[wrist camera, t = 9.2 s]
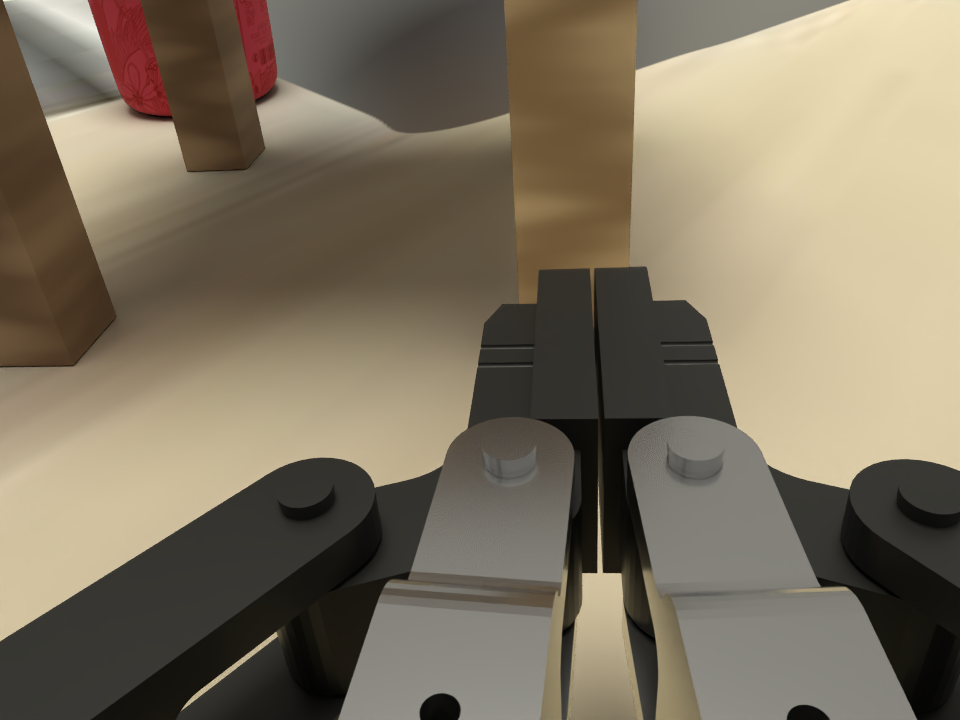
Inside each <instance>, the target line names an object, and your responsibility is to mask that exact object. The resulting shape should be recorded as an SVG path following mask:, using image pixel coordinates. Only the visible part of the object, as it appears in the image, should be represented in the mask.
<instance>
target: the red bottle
mask: <svg viewBox="0 0 960 720" xmlns="http://www.w3.org/2000/svg"><path fill="white" fill-rule="evenodd" d="M88 2H89V5H90V8H91V11H92V14H93V17H94V20H95V23H96V26H97V29H98V32H99V35H100V38H101V41H102V44H103V47H104V50H105V53H106V56H107V59H108V62H109V65H110V68H111V71H112V73H113V76H114V79H115V82H116V84H117V87H118V89H119V92H120V94H121V96H122V98H123V99H124V101H125V102H126V103H127V104H128V105H129V106H130V107H131V108H133V109H135V110H137V111H139V112H142V113H146V114H151V115H158V116H172V114H171V111H170V107H169V104H168V100H167V96H166V93H165V89H164V85H163V82H162V78H161V74H160V71H159V67H158V64H157V60H156V56H155V53H154V49H153V45H152V42H151V38H150V34H149V31H148V27H147V23H146V20H145V16H144V13H143V9H142V5H141V2H140V0H88ZM233 2H234V7H235V12H236V16H237V21H238V25H239V30H240V35H241V39H242V44H243V48H244V53H245V58H246V62H247V67H248V71H249V76H250V81H251V85H252V90H253V94H254V99H255V100H256V99H258V98H260V97H262V96H263V95H265V94H266V93H267V92H269V90H270V89H271V88H272V87H273V86H274V84H275V81H276V79H277V66H276V59H275V51H274V44H273V38H272V32H271V26H270V20H269V14H268V8H267V2H266V0H233Z"/></svg>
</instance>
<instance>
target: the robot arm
mask: <svg viewBox="0 0 960 720" xmlns="http://www.w3.org/2000/svg"><path fill="white" fill-rule="evenodd" d="M598 486H599V506H600V526H601V545H602V565H603V573H621V574H622V587H623V616H622V630H623V638H624V644H625V650H626V656H627V662H628V668H629V675H630V681H631V687H632V693H633V699H634V705H635V711H636V717H637V720H960V471H958V470H956V469H953V468H950V467H947V466H944V465H940V464H936V463H933V462H927V461H921V460H909V459H900V460H889V461H883V462H879V463H876V464H873V465H871V466H869V467H867V468H865V469H863V470H862V471H861V472H859V473H858V474H857V475H856V477H855V478H854V479H853V481H852V484H851V487H850V490H848V489H844V488H839V487H835V486H830V485H825V484H821V483H816V482H812V481H807V480H804V479H800V478H796V477H793V476H791V475H788V474H785V473H783V472H781V471H779V470H776V469H774V468H772V467H771V466H769V465H767V463H766V461H765V459H764V457H763V454H762V452H761V450H760V449H759V447H758V445H757V444H756V443H755V442H754V441H753V439H752V438H750V437H749V436H748V435H747V434H745V433H744V432H743V431H741V430H739V429H738V428H737V425H736V422H735V418H734V415H733V411H732V408H731V404H730V401H729V397H728V394H727V390H726V387H725V383H724V380H723V376H722V373H721V369H720V365H719V364H718V358H717V355H716V351H715V348H714V346H713V341H712V337H711V334H710V330H709V327H708V323H707V320H706V318H705V317H703V316H702V315H701V314H700V313H699V312H698V311H697V310H696V309H695V308H693V307H692V306H691V305H690V304H689V303H688V302H687V301H686V300H675V301H653V299H652V293H651V288H650V282H649V277H648V271H647V267H611V268H594V332H593V314H592V296H591V278H590V268H579V269H540V270H539V274H538V291H537V304H502V305H501V306H500V307H499V308H498V309H497V311H496V312H495V313H494V314H493V315H492V316H491V317H490V318H489V319H488V320H487V321H486V322H485V324H484V330H483V336H482V343H481V349H480V355H479V361H478V368H477V374H476V380H475V386H474V392H473V399H472V405H471V411H470V417H469V424H468V429H467V430H465V431H464V432H462V433H461V434H460V435H459V436H458V437H457V438H456V439H454V441H453V442H452V444H451V445H450V447H449V449H448V451H447V454H446V457H445V460H444V464H443V466H441V467H440V468H438V469H436V470H434V471H432V472H430V473H428V474H425V475H423V476H420V477H417V478H414V479H410V480H407V481H402V482H398V483H393V484H389V485H385V486H380V487H376V488H374V484H373V481H372V479H371V477H370V476H369V475H368V474H367V472H366V471H365V470H363V469H362V468H361V467H359V466H358V465H356V464H354V463H352V462H348V461H345V460H341V459H335V458H312V459H306V460H301V461H297V462H294V463H290V464H288V465H285V466H283V467H280V468H278V469H276V470H275V471H273V472H271V473H269V474H268V475H266V476H264V477H263V478H261V479H260V480H258V481H256V482H255V483H253V484H252V485H250V486H248V487H247V488H245V489H243V490H242V491H240V492H239V493H237V494H235V495H234V496H232V497H231V498H229V499H227V500H226V501H224V502H223V503H221V504H219V505H218V506H216V507H215V508H213V509H211V510H210V511H208V512H207V513H205V514H203V515H202V516H200V517H199V518H197V519H195V520H194V521H192V522H191V523H189V524H187V525H186V526H184V527H183V528H181V529H179V530H178V531H176V532H175V533H173V534H171V535H170V536H168V537H167V538H165V539H163V540H162V541H160V542H159V543H157V544H155V545H154V546H152V547H151V548H149V549H147V550H146V551H144V552H143V553H141V554H139V555H138V556H136V557H135V558H133V559H131V560H130V561H128V562H127V563H125V564H123V565H122V566H120V567H119V568H117V569H115V570H114V571H112V572H111V573H109V574H107V575H106V576H104V577H103V578H101V579H99V580H98V581H96V582H95V583H93V584H91V585H90V586H88V587H87V588H85V589H83V590H82V591H80V592H79V593H77V594H75V595H74V596H72V597H71V598H69V599H67V600H66V601H64V602H62V603H61V604H59V605H58V606H56V607H54V608H53V609H51V610H50V611H48V612H46V613H45V614H43V615H42V616H40V617H38V618H37V619H35V620H34V621H32V622H30V623H29V624H27V625H26V626H24V627H22V628H21V629H19V630H18V631H16V632H14V633H13V634H11V635H10V636H8V637H6V638H5V639H3V640H2V641H0V720H570V712H571V700H572V687H573V674H574V661H575V648H576V636H577V615H578V614H579V611H580V608H581V605H582V573H597V540H598ZM275 632H277V635H278V637H277V638H275V639H274V640H273V641H272V642H270V643H269V644H268V645H266V646H265V647H264V648H262V649H261V650H260V651H259V652H257V653H256V654H255V655H253V656H252V657H251V658H250V659H248V660H247V661H246V662H244V663H243V664H242V665H240V666H239V667H238V668H237V669H235V670H234V671H233V672H231V673H230V674H229V675H227V676H226V677H225V678H224V679H222V680H221V681H220V682H218V683H217V684H216V685H214V686H213V687H212V688H211V689H209V690H208V691H207V692H205V693H204V694H203V695H201V696H200V697H199V698H198V699H196V700H195V701H194V702H192V703H191V704H190V705H188V706H187V707H186V708H185V709H183V710H182V708H183V707H184V705H185V704H186V703H187V702H188V701H189V699H190V698H191V697H192V696H193V695H194V694H196V693H197V692H198V691H199V690H200V689H202V688H203V687H204V686H206V685H207V684H208V683H210V682H211V681H212V680H213V679H215V678H216V677H217V676H219V675H220V674H221V673H223V672H224V671H225V670H227V669H228V668H229V667H230V666H232V665H233V664H234V663H236V662H237V661H238V660H240V659H241V658H242V657H244V656H245V655H246V654H247V653H249V652H250V651H251V650H253V649H254V648H255V647H257V646H258V645H259V644H261V643H262V642H263V641H264V640H266V639H267V638H268V637H270V636H271V635H272V634H274V633H275ZM181 710H182V711H181ZM180 711H181V712H180Z"/></svg>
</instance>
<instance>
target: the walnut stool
mask: <svg viewBox="0 0 960 720" xmlns="http://www.w3.org/2000/svg"><path fill="white" fill-rule="evenodd" d="M140 2H141V5H142V9H143V13H144V16H145V20H146V23H147V27H148V31H149V34H150V38H151V42H152V45H153V49H154V53H155V56H156V60H157V64H158V67H159V71H160V74H161V78H162V82H163V85H164V89H165V93H166V96H167V100H168V104H169V107H170V111H171V114H172V118H173V122H174V125H175V129H176V133H177V136H178V140H179V144H180V147H181V151H182V155H183V158H184V162H185V165H186V169H187V171H208V170H234V169H247V168H248V167H249V166H250V165H251V163H252V162H253V161H254V160H255V159H256V158H257V157H258V155H259V154H260V153H261V152H262V151H263V150H264V149H265V145H264V141H263V136H262V131H261V127H260V122H259V117H258V113H257V108H256V104H255V99H254V94H253V90H252V85H251V81H250V76H249V71H248V67H247V62H246V58H245V53H244V48H243V44H242V39H241V35H240V30H239V25H238V21H237V16H236V12H235V7H234V2H233V0H140ZM115 318H116V314H115V311H114V308H113V305H112V303H111V300H110V297H109V294H108V292H107V289H106V286H105V283H104V280H103V278H102V275H101V272H100V269H99V267H98V264H97V261H96V258H95V255H94V253H93V250H92V247H91V244H90V242H89V239H88V236H87V233H86V230H85V228H84V225H83V222H82V219H81V216H80V214H79V211H78V208H77V205H76V203H75V200H74V197H73V194H72V191H71V189H70V186H69V183H68V180H67V178H66V175H65V172H64V169H63V166H62V164H61V161H60V158H59V155H58V153H57V150H56V147H55V144H54V141H53V139H52V136H51V133H50V130H49V128H48V125H47V122H46V119H45V116H44V114H43V111H42V108H41V105H40V102H39V100H38V97H37V94H36V91H35V89H34V86H33V83H32V80H31V77H30V75H29V72H28V69H27V66H26V64H25V61H24V58H23V55H22V52H21V50H20V47H19V44H18V41H17V39H16V36H15V33H14V30H13V27H12V25H11V22H10V19H9V16H8V13H7V11H6V8H5V5H4V2H3V0H0V366H61V365H74V364H75V363H76V362H77V361H78V359H79V358H80V357H81V356H82V355H83V354H84V353H85V352H86V350H87V349H88V348H89V347H90V346H91V345H92V344H93V342H94V341H95V340H96V339H97V338H98V337H99V336H100V335H101V333H102V332H103V331H104V330H105V329H106V328H107V327H108V325H109V324H110V323H111V322H112V321H113V320H114V319H115Z"/></svg>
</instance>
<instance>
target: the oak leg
mask: <svg viewBox="0 0 960 720" xmlns="http://www.w3.org/2000/svg"><path fill="white" fill-rule="evenodd" d="M637 2H638V0H504V5H505V24H506V46H507V66H508V85H509V86H508V87H509V107H510V127H511V148H512V168H513V188H514V209H515V229H516V249H517V270H518V290H519V304H537V291H538V274H539V270H540V269H579V268H590V278H591V296H592V314H593V332H594V268H611V267H629V249H630V219H631V188H632V157H633V127H634V96H635V64H636V35H637V34H636V33H637Z"/></svg>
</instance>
